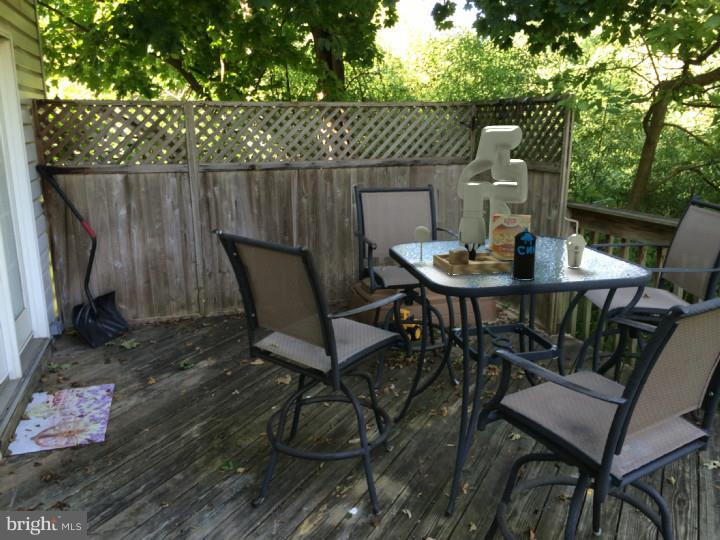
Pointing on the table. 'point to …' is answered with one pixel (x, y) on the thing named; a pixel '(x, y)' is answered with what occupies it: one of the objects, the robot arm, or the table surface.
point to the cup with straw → (575, 247)
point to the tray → (472, 264)
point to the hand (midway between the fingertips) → (471, 259)
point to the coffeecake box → (507, 234)
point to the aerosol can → (524, 254)
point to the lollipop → (421, 235)
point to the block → (458, 257)
